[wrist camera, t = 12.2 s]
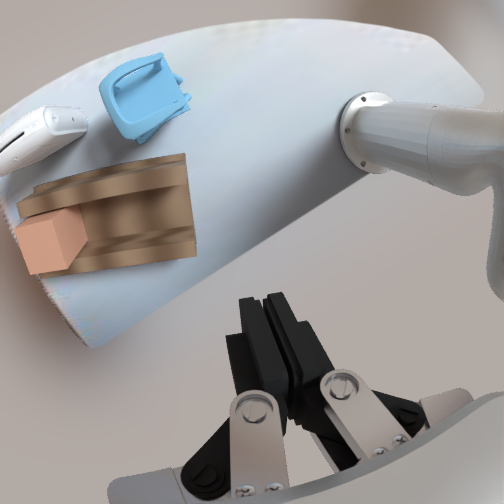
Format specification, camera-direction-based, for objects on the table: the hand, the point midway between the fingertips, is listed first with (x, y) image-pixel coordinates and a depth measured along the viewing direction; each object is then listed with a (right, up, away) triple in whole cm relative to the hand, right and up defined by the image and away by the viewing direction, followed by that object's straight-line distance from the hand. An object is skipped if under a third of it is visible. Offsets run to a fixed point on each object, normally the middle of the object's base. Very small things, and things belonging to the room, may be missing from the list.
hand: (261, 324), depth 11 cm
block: (-26, +7, +20) cm, 33 cm away
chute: (-19, +8, +22) cm, 31 cm away
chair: (-12, +21, +18) cm, 30 cm away
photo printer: (-26, +18, +16) cm, 35 cm away
